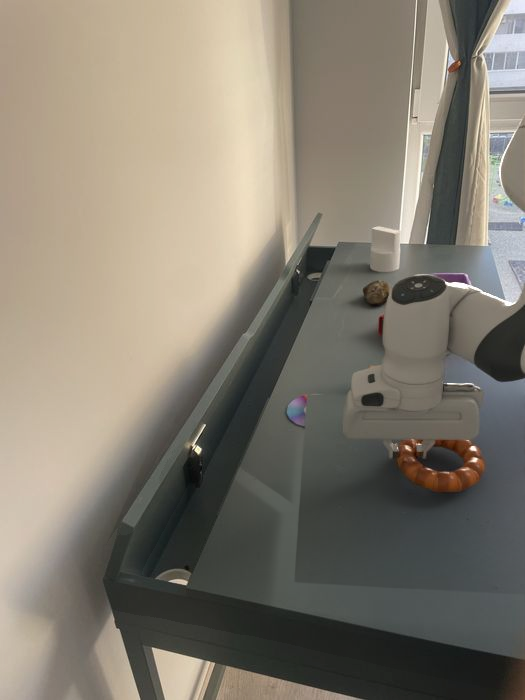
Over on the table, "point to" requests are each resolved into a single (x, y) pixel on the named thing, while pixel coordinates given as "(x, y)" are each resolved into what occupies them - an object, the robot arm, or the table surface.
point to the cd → (298, 410)
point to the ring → (438, 479)
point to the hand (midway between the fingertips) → (406, 456)
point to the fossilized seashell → (377, 292)
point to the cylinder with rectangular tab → (385, 249)
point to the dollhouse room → (453, 277)
